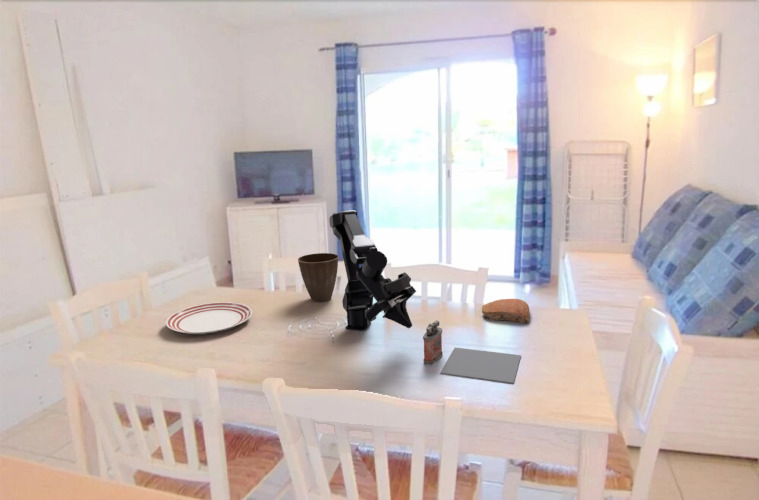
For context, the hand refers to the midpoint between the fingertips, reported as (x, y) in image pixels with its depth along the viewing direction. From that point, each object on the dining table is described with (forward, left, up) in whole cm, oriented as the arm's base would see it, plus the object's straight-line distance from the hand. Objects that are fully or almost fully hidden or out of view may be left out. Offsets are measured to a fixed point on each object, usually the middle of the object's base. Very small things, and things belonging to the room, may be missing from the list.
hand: (410, 327), depth 138 cm
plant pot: (-47, +37, -8) cm, 60 cm away
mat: (+20, -1, -8) cm, 21 cm away
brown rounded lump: (+20, +38, -8) cm, 44 cm away
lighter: (+7, -1, -8) cm, 10 cm away
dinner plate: (-71, +4, -8) cm, 72 cm away
